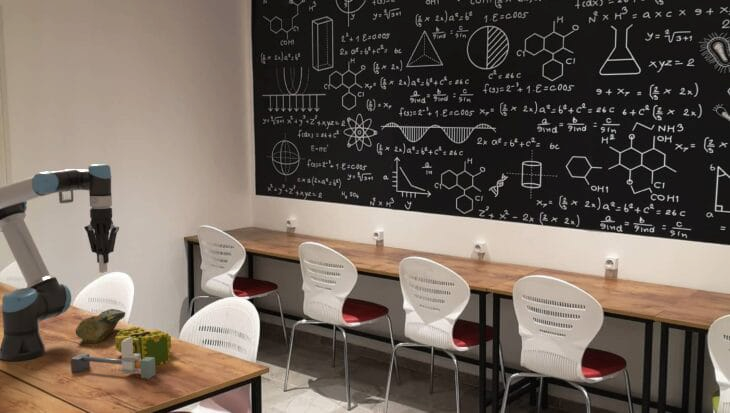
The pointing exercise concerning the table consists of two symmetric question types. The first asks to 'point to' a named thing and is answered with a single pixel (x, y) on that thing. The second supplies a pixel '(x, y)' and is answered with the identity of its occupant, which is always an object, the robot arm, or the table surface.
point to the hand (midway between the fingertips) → (103, 271)
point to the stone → (99, 326)
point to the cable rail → (84, 360)
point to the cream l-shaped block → (129, 356)
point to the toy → (147, 343)
